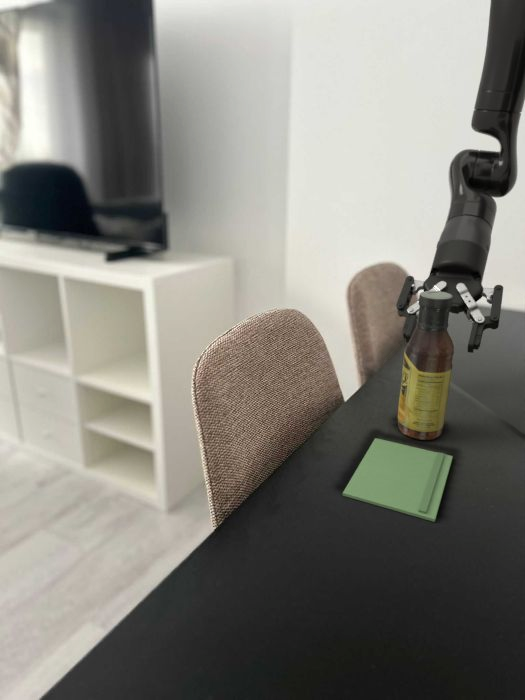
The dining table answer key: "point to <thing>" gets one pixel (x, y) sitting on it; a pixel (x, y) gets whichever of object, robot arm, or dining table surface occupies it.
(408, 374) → the sauce bottle
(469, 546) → the dining table surface
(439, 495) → the green notebook
